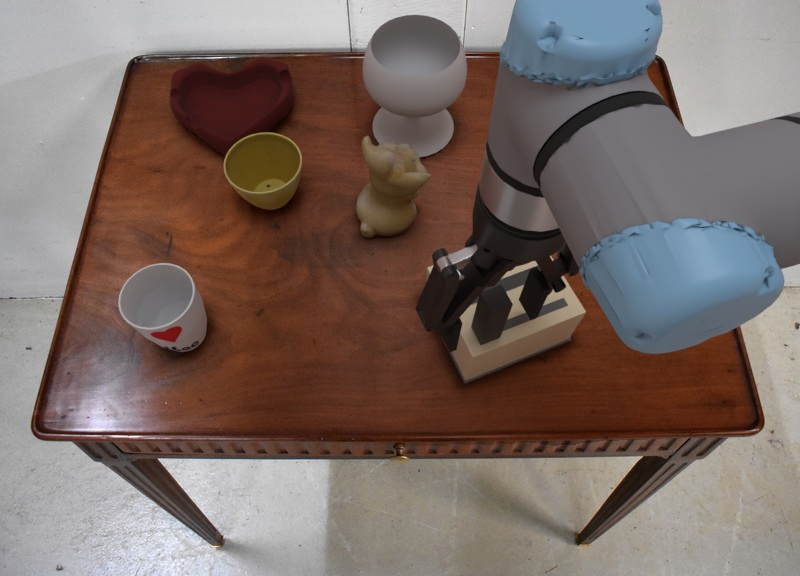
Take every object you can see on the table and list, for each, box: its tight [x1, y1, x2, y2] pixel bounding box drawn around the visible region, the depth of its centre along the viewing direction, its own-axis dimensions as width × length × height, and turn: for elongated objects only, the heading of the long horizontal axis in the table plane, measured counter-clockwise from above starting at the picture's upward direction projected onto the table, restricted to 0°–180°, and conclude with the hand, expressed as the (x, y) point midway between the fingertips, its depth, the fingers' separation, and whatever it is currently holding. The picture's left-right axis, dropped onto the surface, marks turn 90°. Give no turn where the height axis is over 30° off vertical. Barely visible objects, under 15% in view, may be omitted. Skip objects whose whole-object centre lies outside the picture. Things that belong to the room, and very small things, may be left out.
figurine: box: [355, 135, 432, 239], centre depth 74 cm, size 10×8×15 cm
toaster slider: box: [471, 285, 513, 345], centre depth 61 cm, size 2×2×8 cm
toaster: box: [425, 255, 587, 385], centre depth 70 cm, size 12×14×8 cm
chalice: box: [362, 14, 468, 158], centre depth 82 cm, size 14×14×15 cm
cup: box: [117, 262, 208, 353], centre depth 69 cm, size 8×8×10 cm
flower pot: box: [223, 131, 303, 211], centre depth 80 cm, size 10×10×7 cm
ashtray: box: [169, 56, 295, 157], centre depth 87 cm, size 18×16×5 cm
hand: (488, 324), depth 62 cm, fingers open, 9 cm apart
